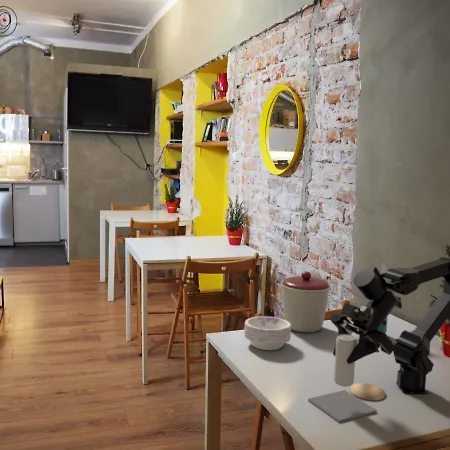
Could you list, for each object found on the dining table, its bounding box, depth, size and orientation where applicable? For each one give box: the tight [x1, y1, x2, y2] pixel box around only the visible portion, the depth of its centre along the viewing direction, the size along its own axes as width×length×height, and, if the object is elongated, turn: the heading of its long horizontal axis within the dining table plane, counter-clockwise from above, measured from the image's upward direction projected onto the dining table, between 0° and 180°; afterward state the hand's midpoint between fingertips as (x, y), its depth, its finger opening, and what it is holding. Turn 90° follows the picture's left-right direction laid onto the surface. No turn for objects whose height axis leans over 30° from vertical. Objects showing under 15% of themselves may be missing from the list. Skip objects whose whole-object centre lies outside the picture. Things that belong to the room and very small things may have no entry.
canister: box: [280, 270, 332, 334], centre depth 190 cm, size 18×18×21 cm
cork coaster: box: [349, 382, 386, 402], centre depth 141 cm, size 9×9×1 cm
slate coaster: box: [307, 389, 378, 423], centre depth 133 cm, size 12×12×1 cm
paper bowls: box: [243, 315, 292, 351], centre depth 173 cm, size 15×15×8 cm
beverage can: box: [333, 334, 357, 388], centre depth 132 cm, size 5×5×12 cm
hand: (340, 359), depth 131 cm, fingers closed on beverage can, 5 cm apart
